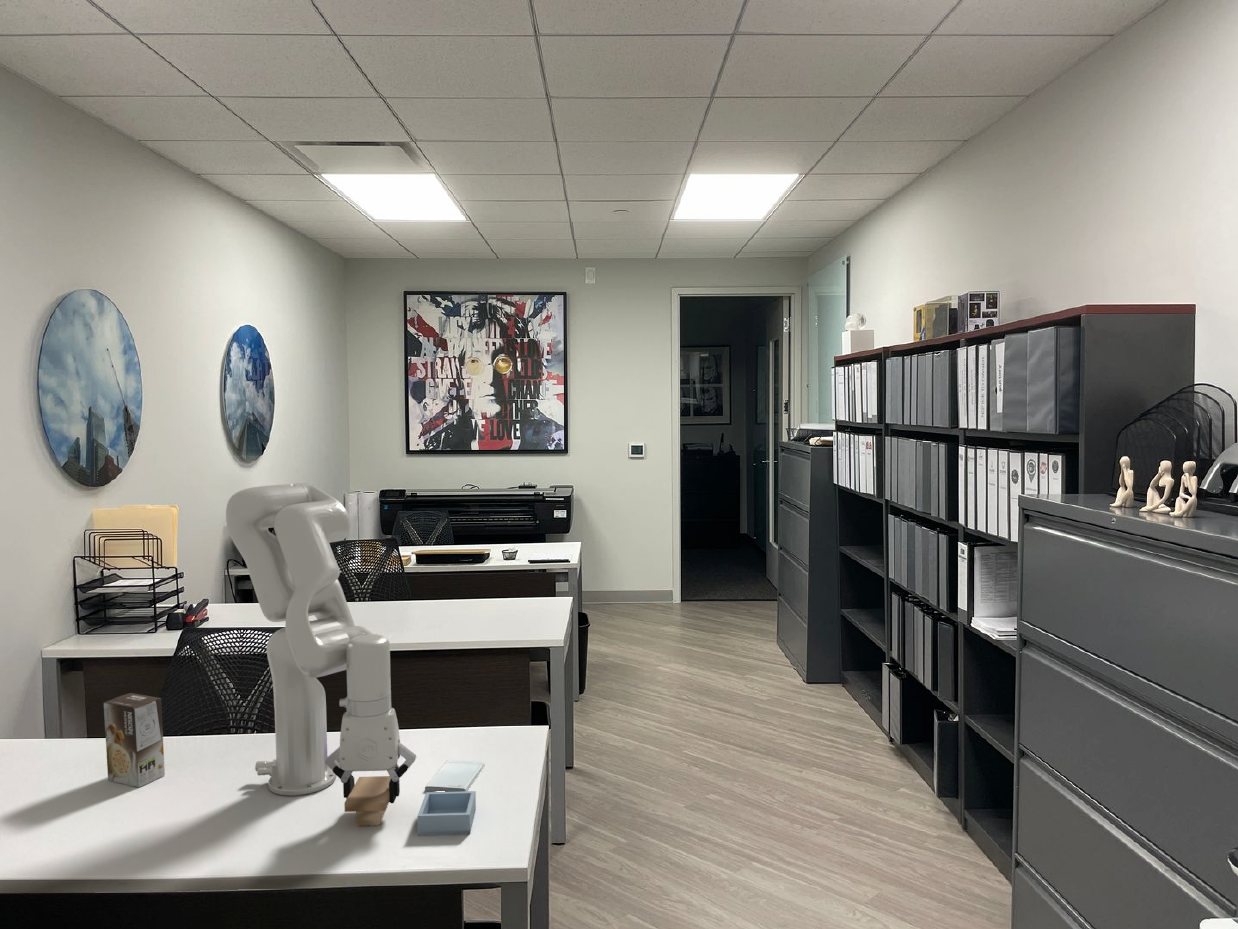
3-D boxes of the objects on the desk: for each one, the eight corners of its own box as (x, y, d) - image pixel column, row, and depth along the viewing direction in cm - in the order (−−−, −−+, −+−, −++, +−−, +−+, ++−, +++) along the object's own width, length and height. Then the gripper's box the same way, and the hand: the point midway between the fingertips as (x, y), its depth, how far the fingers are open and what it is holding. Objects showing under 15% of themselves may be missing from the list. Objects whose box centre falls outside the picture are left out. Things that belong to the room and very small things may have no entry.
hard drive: (465, 788, 165) (484, 761, 177) (424, 786, 166) (446, 759, 178) (465, 797, 165) (484, 769, 177) (424, 794, 166) (446, 767, 179)
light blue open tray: (417, 835, 149) (417, 816, 149) (426, 811, 158) (426, 792, 158) (470, 834, 150) (469, 814, 150) (475, 809, 159) (475, 791, 159)
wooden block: (356, 826, 153) (355, 807, 152) (365, 807, 160) (365, 789, 159) (379, 825, 153) (378, 806, 153) (387, 807, 160) (387, 788, 160)
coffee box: (166, 775, 174) (163, 697, 173) (138, 788, 168) (135, 708, 167) (134, 768, 177) (130, 691, 176) (105, 780, 171) (101, 702, 170)
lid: (344, 812, 151) (344, 803, 151) (359, 785, 161) (359, 777, 161) (385, 811, 151) (385, 802, 151) (397, 784, 161) (397, 776, 161)
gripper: (314, 713, 151) (317, 811, 152) (414, 711, 151) (416, 809, 153) (326, 698, 158) (329, 792, 159) (422, 696, 159) (424, 790, 160)
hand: (372, 799), depth 156 cm, fingers closed on lid, 7 cm apart
